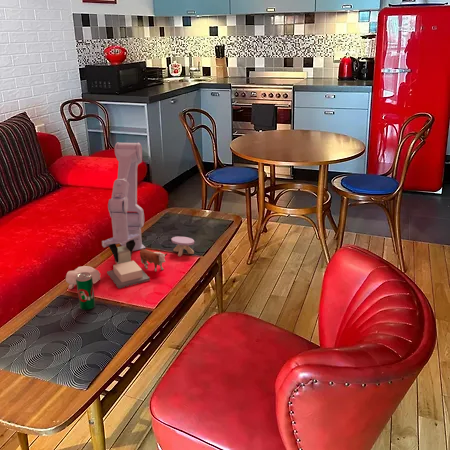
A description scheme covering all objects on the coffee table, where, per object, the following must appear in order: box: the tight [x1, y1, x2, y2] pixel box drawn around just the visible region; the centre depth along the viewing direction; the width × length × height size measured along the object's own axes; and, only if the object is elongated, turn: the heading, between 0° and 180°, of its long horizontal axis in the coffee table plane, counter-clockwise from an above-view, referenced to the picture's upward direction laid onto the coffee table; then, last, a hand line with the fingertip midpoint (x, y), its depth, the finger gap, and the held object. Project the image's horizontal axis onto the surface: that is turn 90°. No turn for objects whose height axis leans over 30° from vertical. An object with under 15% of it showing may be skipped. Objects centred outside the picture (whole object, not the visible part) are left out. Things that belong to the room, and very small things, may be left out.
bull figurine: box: [139, 248, 168, 272], centre depth 191 cm, size 4×13×8 cm, turn 53°
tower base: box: [106, 259, 151, 289], centre depth 185 cm, size 13×12×4 cm
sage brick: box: [114, 245, 132, 264], centre depth 195 cm, size 6×4×6 cm
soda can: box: [76, 272, 96, 311], centre depth 164 cm, size 5×5×12 cm
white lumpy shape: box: [65, 265, 102, 290], centre depth 178 cm, size 8×8×15 cm
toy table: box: [170, 236, 195, 257], centre depth 205 cm, size 10×9×6 cm
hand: (122, 259), depth 196 cm, fingers closed on sage brick, 4 cm apart
